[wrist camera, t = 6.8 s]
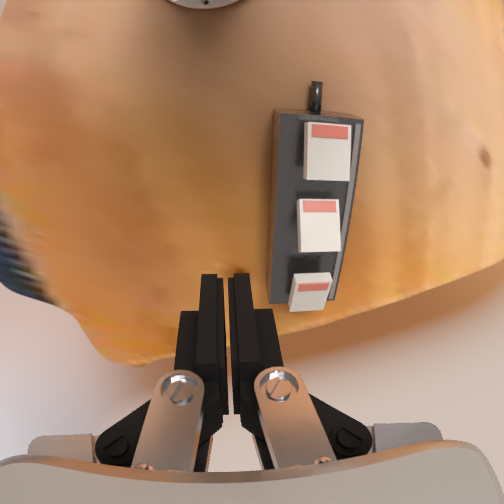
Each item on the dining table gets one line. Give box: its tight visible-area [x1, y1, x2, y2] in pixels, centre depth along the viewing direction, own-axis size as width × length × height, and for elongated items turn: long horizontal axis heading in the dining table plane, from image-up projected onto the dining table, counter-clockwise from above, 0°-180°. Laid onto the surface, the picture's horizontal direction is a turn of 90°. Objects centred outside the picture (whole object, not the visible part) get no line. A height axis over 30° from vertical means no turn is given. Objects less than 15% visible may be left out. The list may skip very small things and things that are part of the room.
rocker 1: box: [303, 122, 351, 181], centre depth 30 cm, size 6×4×2 cm
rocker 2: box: [297, 199, 341, 252], centre depth 34 cm, size 6×4×2 cm
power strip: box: [266, 81, 364, 304], centre depth 37 cm, size 28×9×4 cm, turn 179°
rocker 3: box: [288, 272, 333, 312], centre depth 39 cm, size 6×4×2 cm
